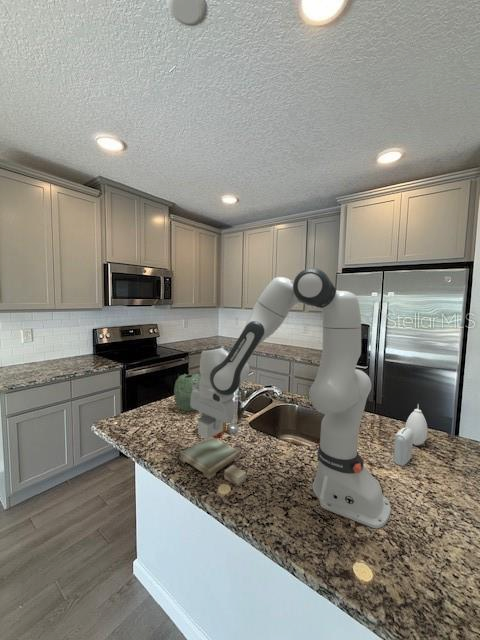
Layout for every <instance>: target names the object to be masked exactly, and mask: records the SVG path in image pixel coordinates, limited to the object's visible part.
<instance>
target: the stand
mask: <svg viewBox="0 0 480 640" xmlns="http://www.w3.org/2000/svg"><path fill="white" fill-rule="evenodd" d="M240 459H241V450H239V449H237V448H235V447H233V446H232V445H229V444H227V443H226V442H224V441H221V440H219V439H218V438H215V437H210V438H208V439H206V438H204V439H203V440H201V441H199V442H197V443H195V444H193V445H191V446H190V447H187V448H186V449H184V450H182V451H180V452H179V461H181V462H182V463H184V464H186V463H187V464H189V465H190V466H192V467H193V468H195V469H197V470H198V471H200V472H202V475H203V477H205V478H206V479H208V480H211V479H213V478H214V477H215V476H217V472H219V471H220V470H221V469H223V468H225V467H226V466H228V465H229V464H231V463H232V462H234V463H236V462H237V461H239V460H240Z"/></svg>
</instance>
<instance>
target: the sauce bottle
mask: <svg viewBox="0 0 480 640" xmlns="http://www.w3.org/2000/svg"><path fill="white" fill-rule="evenodd" d="M419 407H420V406H419V403H417V408H415V409H413V411H412V412H411V413H410V415H409V416H408V418H407V420H406V422H405V425H404V428H405V427H407V428H410V429H411V430H412V431H413V444H414V445H413V444H412V445H413V446H421V445H423V444H424V443H425V441H426V439H427V438H428V423H427V421H426V418H425V416H424V414H423V412H422V410H421V409H419Z"/></svg>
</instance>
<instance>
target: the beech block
mask: <svg viewBox="0 0 480 640" xmlns="http://www.w3.org/2000/svg"><path fill="white" fill-rule="evenodd" d="M224 479H225V480H226V481H228V482H230V483H231V484H234V485H235V486H237V487H239V486H241V485H242V484H243V483H244V482H246V481H247V472H246V471H245V470H242V469H240V468H239V467H237V466H236V465H233V464H232V465H231V466H229V467H227V468H226V469H224Z"/></svg>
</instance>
